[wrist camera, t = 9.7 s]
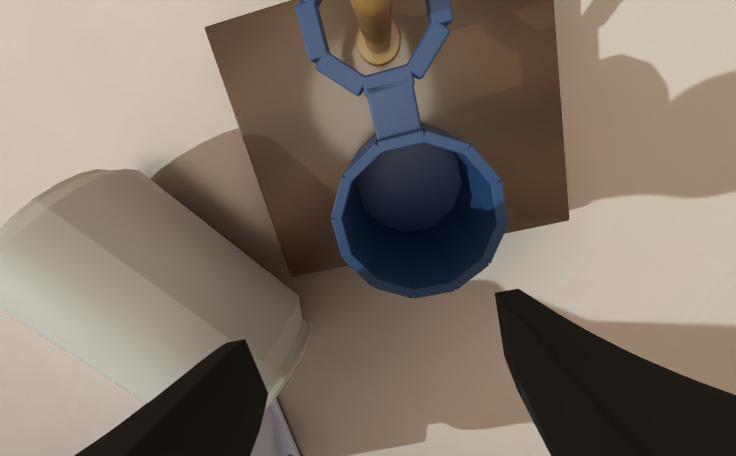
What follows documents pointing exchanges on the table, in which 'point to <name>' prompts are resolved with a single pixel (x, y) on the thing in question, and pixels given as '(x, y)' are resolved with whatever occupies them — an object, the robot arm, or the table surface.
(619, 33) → the table surface
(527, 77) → the peg stand
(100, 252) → the can
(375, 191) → the cup
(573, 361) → the robot arm
